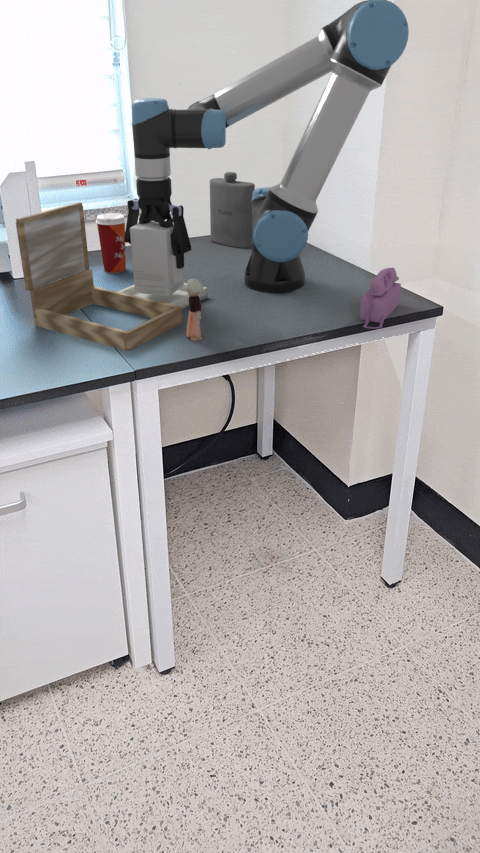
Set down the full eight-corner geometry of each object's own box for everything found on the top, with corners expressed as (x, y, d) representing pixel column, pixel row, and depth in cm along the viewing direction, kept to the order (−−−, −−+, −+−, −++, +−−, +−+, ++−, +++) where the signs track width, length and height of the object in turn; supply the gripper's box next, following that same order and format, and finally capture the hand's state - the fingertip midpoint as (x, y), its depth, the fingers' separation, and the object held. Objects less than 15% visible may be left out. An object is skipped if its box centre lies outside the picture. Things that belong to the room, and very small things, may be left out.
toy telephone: (376, 302, 169) (380, 260, 164) (402, 306, 166) (407, 264, 162) (350, 327, 155) (354, 282, 150) (379, 332, 153) (383, 286, 148)
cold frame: (182, 323, 156) (178, 218, 145) (128, 352, 143) (118, 238, 131) (89, 301, 169) (79, 202, 158) (31, 325, 155) (15, 219, 144)
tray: (207, 297, 171) (207, 287, 170) (166, 318, 159) (166, 307, 158) (154, 286, 178) (153, 276, 177) (111, 304, 167) (110, 294, 165)
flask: (205, 241, 214) (203, 171, 204) (217, 237, 218) (216, 168, 208) (245, 250, 206) (245, 177, 196) (257, 245, 210) (258, 174, 200)
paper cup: (127, 274, 186) (123, 219, 180) (97, 274, 187) (92, 219, 180) (131, 265, 193) (127, 212, 186) (103, 265, 193) (98, 212, 186)
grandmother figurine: (180, 333, 151) (177, 274, 145) (197, 330, 153) (195, 272, 147) (193, 346, 145) (191, 286, 139) (210, 343, 147) (209, 283, 140)
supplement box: (185, 285, 170) (182, 221, 162) (169, 297, 162) (166, 230, 155) (150, 281, 172) (146, 217, 165) (133, 293, 165) (128, 227, 157)
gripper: (206, 179, 153) (208, 281, 163) (124, 169, 163) (131, 265, 174) (185, 185, 147) (189, 290, 158) (102, 174, 157) (111, 274, 168)
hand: (159, 277), depth 166 cm, fingers closed on supplement box, 10 cm apart
